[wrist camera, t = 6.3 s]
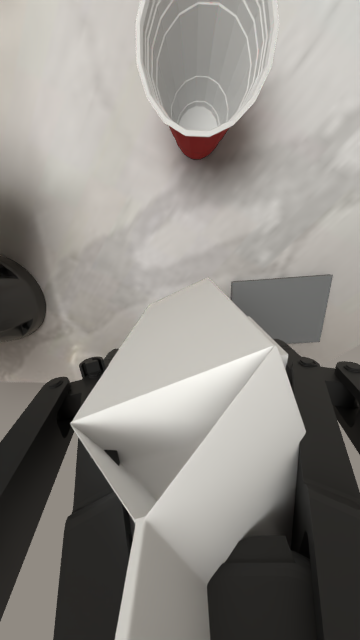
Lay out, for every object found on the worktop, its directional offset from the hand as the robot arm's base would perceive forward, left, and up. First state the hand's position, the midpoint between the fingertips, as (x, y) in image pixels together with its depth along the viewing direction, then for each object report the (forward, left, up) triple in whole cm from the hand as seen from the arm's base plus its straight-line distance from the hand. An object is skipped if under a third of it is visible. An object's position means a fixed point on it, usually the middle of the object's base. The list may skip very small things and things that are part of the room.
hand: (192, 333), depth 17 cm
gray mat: (+15, -4, -16) cm, 23 cm away
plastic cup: (+2, +22, -17) cm, 28 cm away
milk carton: (0, 0, -4) cm, 4 cm away
